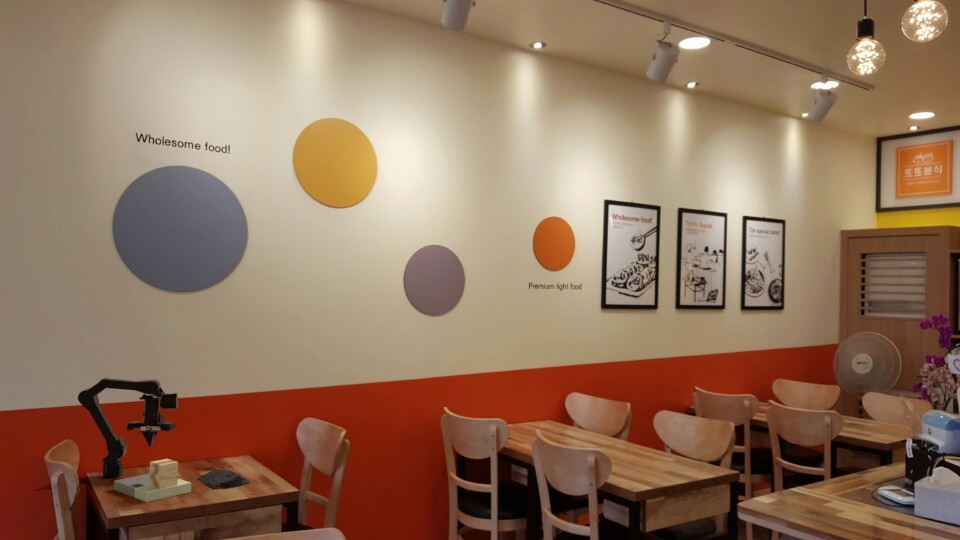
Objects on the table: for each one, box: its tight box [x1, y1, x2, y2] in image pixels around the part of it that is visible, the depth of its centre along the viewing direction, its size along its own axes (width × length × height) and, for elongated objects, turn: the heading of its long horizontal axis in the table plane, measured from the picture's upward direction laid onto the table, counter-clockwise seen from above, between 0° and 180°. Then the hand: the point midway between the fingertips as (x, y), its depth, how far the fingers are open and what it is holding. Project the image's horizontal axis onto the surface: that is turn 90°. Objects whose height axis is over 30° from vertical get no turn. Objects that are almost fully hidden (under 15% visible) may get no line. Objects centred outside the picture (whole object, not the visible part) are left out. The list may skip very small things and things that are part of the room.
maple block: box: [149, 458, 179, 489], centre depth 276 cm, size 8×7×9 cm
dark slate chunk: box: [196, 468, 250, 490], centre depth 295 cm, size 15×22×5 cm
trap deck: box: [113, 473, 192, 503], centre depth 280 cm, size 25×18×4 cm
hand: (150, 446), depth 304 cm, fingers closed
